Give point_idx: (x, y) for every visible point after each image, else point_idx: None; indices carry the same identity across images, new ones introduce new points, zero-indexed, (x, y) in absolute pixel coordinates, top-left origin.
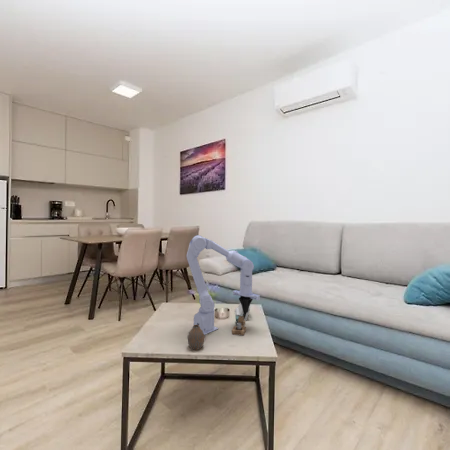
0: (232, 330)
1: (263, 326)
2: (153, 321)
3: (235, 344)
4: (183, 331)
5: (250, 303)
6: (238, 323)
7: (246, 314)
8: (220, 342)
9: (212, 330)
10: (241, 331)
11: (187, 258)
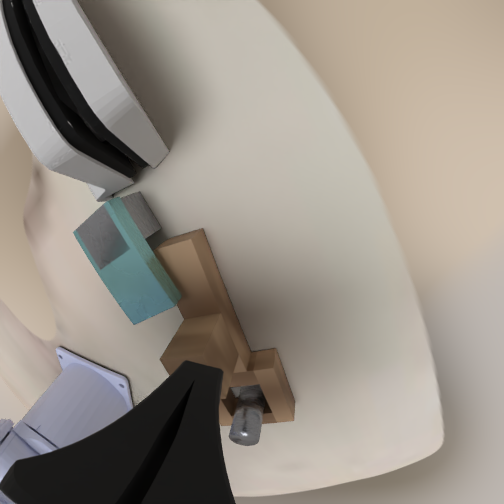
0: (225, 424)
1: (376, 194)
2: None
3: (298, 460)
4: None
5: (228, 479)
6: (241, 442)
7: (138, 148)
8: (234, 461)
9: (131, 408)
10: (279, 421)
11: None
